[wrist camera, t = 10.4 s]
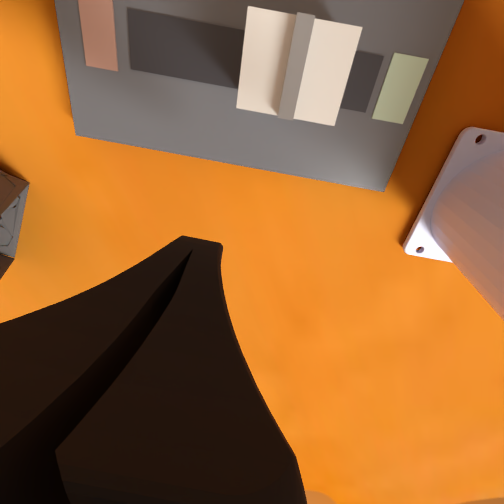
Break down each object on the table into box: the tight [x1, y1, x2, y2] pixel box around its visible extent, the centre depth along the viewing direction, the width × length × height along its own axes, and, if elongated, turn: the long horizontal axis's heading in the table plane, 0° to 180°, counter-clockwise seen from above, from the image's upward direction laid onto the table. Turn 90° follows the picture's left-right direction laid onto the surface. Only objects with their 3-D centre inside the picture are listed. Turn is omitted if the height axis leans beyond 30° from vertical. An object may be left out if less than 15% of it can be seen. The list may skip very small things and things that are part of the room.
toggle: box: [236, 6, 363, 126], centre depth 12 cm, size 4×3×4 cm
